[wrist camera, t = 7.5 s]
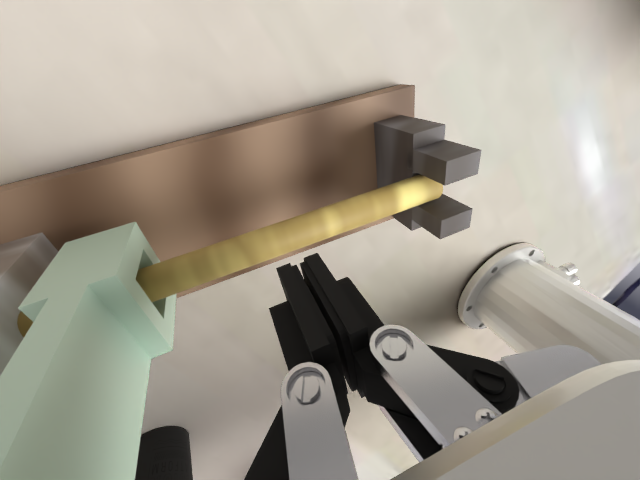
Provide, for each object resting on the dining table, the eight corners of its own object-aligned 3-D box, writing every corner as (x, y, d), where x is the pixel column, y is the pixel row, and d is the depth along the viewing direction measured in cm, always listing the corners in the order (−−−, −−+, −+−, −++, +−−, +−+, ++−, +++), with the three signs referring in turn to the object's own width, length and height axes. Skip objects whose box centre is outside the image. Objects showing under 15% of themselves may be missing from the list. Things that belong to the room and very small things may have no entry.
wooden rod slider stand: (400, 84, 19) (517, 93, 12) (401, 204, 24) (484, 257, 17) (-76, 205, 13) (-351, 345, 7) (55, 328, 18) (-25, 479, 12)
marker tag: (135, 221, 14) (47, 464, 5) (176, 288, 16) (161, 526, 8) (65, 242, 13) (-165, 559, 5) (119, 309, 15) (34, 593, 7)
